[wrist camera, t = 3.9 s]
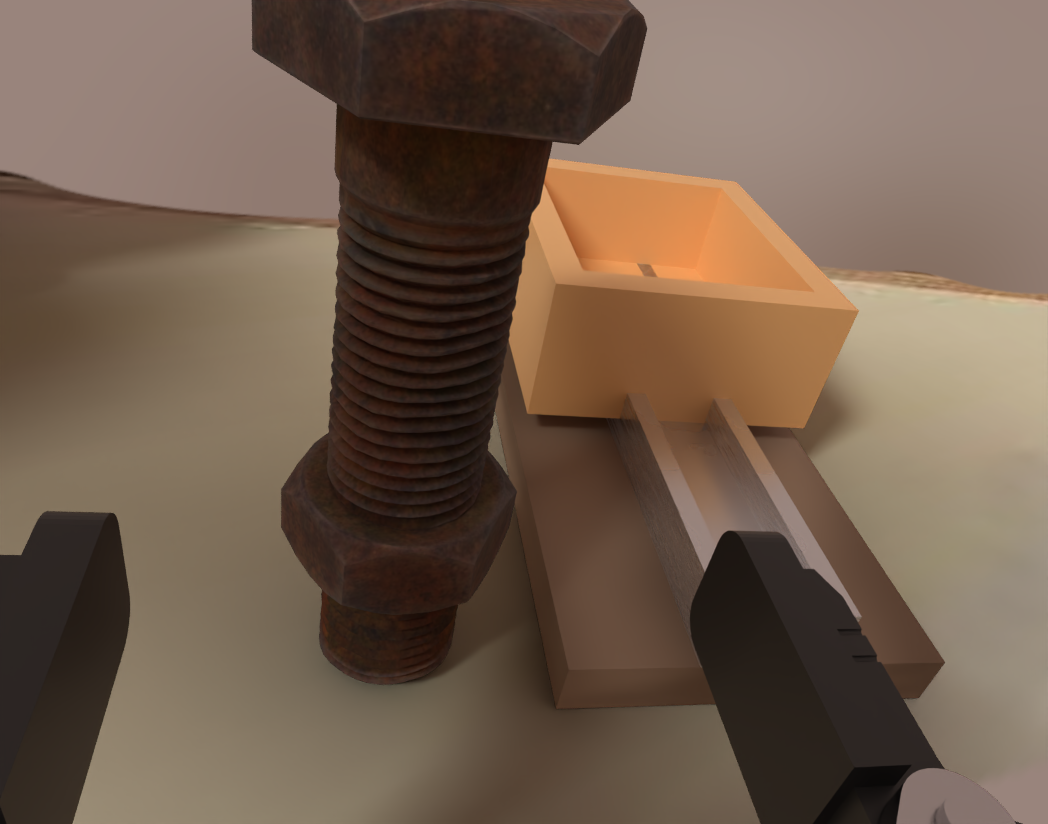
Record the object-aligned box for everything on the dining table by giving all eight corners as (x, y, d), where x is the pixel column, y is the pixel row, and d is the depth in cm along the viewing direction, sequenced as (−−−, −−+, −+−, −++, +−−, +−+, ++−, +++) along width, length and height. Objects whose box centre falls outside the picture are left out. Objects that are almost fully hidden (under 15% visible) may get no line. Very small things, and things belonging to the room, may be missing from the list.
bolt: (427, 786, 17) (574, 36, 9) (224, 694, 18) (176, -67, 10) (519, 599, 22) (672, -9, 13) (353, 533, 23) (397, -77, 14)
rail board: (556, 708, 19) (568, 669, 19) (473, 301, 35) (477, 269, 34) (918, 697, 22) (944, 662, 21) (687, 319, 37) (697, 289, 37)
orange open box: (527, 413, 25) (555, 283, 23) (488, 261, 33) (506, 153, 31) (804, 428, 27) (858, 310, 25) (703, 281, 36) (736, 181, 33)
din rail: (700, 667, 19) (724, 617, 18) (552, 276, 35) (560, 238, 34) (832, 664, 20) (861, 616, 19) (629, 283, 36) (639, 246, 35)
